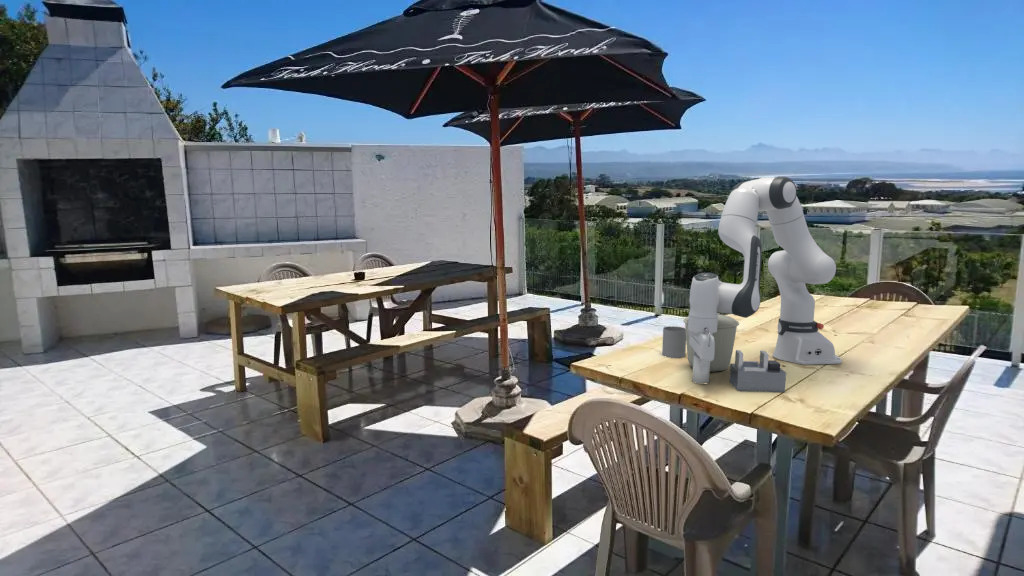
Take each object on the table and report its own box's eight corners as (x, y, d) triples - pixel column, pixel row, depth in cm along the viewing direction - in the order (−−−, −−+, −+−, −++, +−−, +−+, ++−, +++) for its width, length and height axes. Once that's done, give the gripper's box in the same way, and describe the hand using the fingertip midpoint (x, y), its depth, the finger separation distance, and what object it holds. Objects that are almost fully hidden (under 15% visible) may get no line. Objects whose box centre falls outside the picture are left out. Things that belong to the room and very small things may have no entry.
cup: (686, 358, 219) (687, 331, 218) (662, 357, 221) (663, 330, 219) (684, 352, 228) (685, 326, 226) (661, 351, 229) (662, 325, 228)
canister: (746, 368, 207) (750, 308, 204) (718, 379, 195) (722, 314, 192) (699, 358, 220) (702, 301, 217) (670, 367, 208) (673, 307, 205)
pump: (706, 379, 195) (708, 352, 193) (710, 384, 190) (712, 356, 188) (691, 378, 195) (692, 351, 194) (694, 383, 190) (695, 355, 189)
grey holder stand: (774, 382, 191) (777, 349, 189) (784, 392, 182) (787, 356, 180) (729, 381, 192) (731, 348, 190) (737, 390, 183) (739, 355, 182)
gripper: (721, 332, 179) (718, 377, 181) (705, 319, 199) (703, 359, 201) (699, 331, 180) (696, 376, 182) (686, 318, 200) (684, 359, 202)
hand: (700, 367), depth 192 cm, fingers open, 8 cm apart
